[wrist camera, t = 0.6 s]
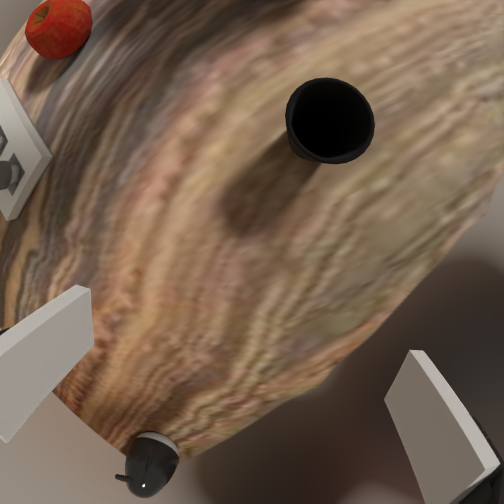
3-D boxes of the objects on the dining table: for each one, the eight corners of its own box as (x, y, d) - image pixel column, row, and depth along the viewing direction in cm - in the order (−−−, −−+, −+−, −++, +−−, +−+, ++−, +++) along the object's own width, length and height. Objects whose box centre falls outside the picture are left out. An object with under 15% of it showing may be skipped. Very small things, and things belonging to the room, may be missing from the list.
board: (9, 80, 31) (-1, 78, 28) (54, 156, 35) (42, 156, 32) (-22, 137, 34) (-32, 136, 31) (17, 218, 38) (6, 221, 35)
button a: (16, 154, 33) (-4, 154, 28) (27, 172, 33) (6, 174, 29) (5, 175, 34) (-14, 177, 29) (15, 193, 34) (-5, 197, 30)
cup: (296, 178, 34) (310, 178, 23) (269, 123, 33) (269, 96, 21) (351, 155, 33) (389, 145, 21) (324, 100, 32) (349, 66, 20)
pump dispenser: (153, 418, 46) (126, 477, 31) (193, 447, 47) (177, 506, 33) (127, 432, 48) (101, 483, 33) (164, 458, 49) (146, 510, 35)
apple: (108, 4, 28) (76, -25, 18) (89, 58, 31) (49, 36, 21) (61, 17, 28) (27, -3, 18) (43, 68, 31) (3, 54, 21)
